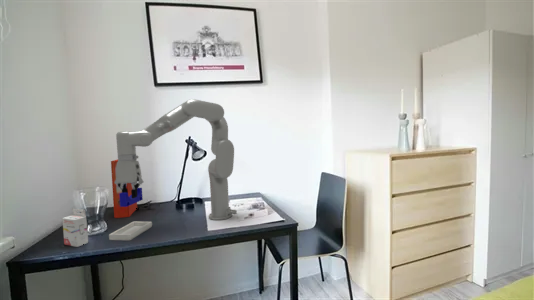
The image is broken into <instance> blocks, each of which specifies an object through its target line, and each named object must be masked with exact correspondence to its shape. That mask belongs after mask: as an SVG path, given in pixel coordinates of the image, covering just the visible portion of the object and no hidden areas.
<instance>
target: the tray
mask: <svg viewBox="0 0 534 300" xmlns="http://www.w3.org/2000/svg"><path fill="white" fill-rule="evenodd" d="M152 227H153V222H152V221H132V222H130V223H128V224H126V225H124V226H122V227H120V228H118V229H117V230H115V231H113V232H111V233H109V234H108V238H109V239H108V240H109V241H132V240H133V239H135V238H137V237H138V236H140V235H141V234H143V233H144V232H146V231H148V230H149V229H151V228H152Z"/></svg>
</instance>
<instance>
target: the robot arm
mask: <svg viewBox="0 0 534 300" xmlns="http://www.w3.org/2000/svg"><path fill="white" fill-rule="evenodd" d="M193 118H198V119H205V121H207V122H208V123H209V124H210V126H211V145H210V146H211V148H210V150H211V153H212V154H213V155H214V156H215V159H212V160H211V161H210V162H209V164H208V167H207V171H208V178H209V186H210V187H209V190H210V191H209V192H210V210H211V211H210V212H211V213H209V215H208V219H210V220H214V221H223V220H227V219H230V218H232V216H233V215H237V213H238V212H237V210H236V209H232V208H231V206H230V204H229V203H230V201H229V183H228V182H229V181H228V180H229V179H228V178H229V177H230V176H231V175H232V173H233V170H234V162H235V161H234V160H235V146H234V143H233V142H232V141H231V140H230V139H229V124H228V122H227V120H226V118H225V109H224V107H223V106H222V105H221V104H219V103H216V102H215V103H214V102H210V101H206V100H201V99H195V98H194V99H193V98H191V99H188V100H186V101H184V102H183V103H181V104H179V105H178V106H176V107H174V108H173V109H171V110H170V111H168V112H167V113H165V114H163V115H162V116H161V117H159V118H158V119H157V120H156V121H155V122H153V123H151V124H149V125H148V126H146V127H144V128H143V129H141V130H139V131H118V132H117V133H116V134H115V137H116V149H117V159H118V162H117V166H116V180H115V182H114V183H115V184H116V185H118V186H119V187H120V189H121V190H122V193H128V189H127V188H126V186H127V183H131V185H132V190H131V193H132V198H135V197H137V195H138V194H137V188H140V186H141V185H143V183H144V180H143V178H142V169H141V165H140V162H139V160H137V159H139V156H138V155H137V150H136V149H137V148H136V147H142V148H143V147H145V148H146V147H148V146H151V145H152V144H153V142H154V141H157V139H159V138H160V137H163V136H164V135H166V134H168V133H171V132H173V131H174V130H176V129H178V128H179V127H181V126H183V125H184V124H185V123H187V122H188V121H190V120H191V119H193ZM231 215H232V216H231Z"/></svg>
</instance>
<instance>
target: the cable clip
mask: <svg viewBox="0 0 534 300" xmlns="http://www.w3.org/2000/svg"><path fill="white" fill-rule="evenodd" d="M137 194H138V195H137V197H135V198H132V195H130V197H129V196H128V193H119V195H120V207H127V206H129V205H132V204H134V203H136V202H137V203H140V201H143V188H142V187H138V188H137Z"/></svg>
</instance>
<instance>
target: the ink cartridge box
mask: <svg viewBox="0 0 534 300" xmlns="http://www.w3.org/2000/svg"><path fill="white" fill-rule="evenodd" d="M71 210H72V215H68V216H65V217H62V218H61V220H62V231H63V232H62V233H63V244H64V245H65V246H71V247H75V248H79V247H80V246H84V245H85V244H88V243H89V234H88V222H87V216H86V215H87V214H86V209H82V208H73V207H72V209H71ZM83 244H84V245H83Z"/></svg>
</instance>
